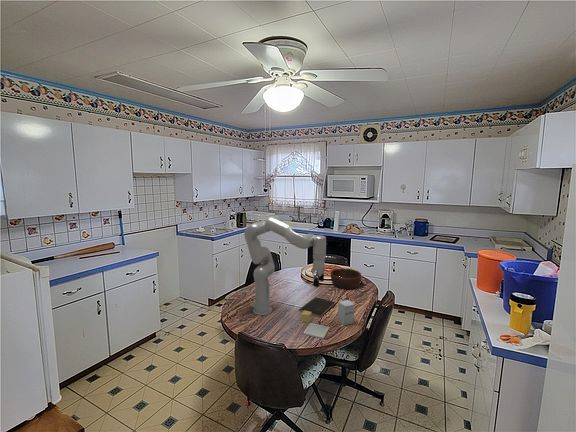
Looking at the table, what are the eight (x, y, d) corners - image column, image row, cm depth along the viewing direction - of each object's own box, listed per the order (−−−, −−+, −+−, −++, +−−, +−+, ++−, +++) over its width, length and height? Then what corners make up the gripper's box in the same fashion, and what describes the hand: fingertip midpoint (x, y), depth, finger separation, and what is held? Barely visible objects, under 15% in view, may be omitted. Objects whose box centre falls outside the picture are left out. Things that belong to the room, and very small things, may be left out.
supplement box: (344, 325, 174) (344, 306, 172) (337, 320, 180) (337, 301, 179) (354, 323, 177) (354, 304, 175) (347, 318, 183) (347, 299, 182)
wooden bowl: (327, 280, 250) (327, 268, 248) (354, 279, 252) (355, 267, 251) (334, 291, 225) (335, 279, 223) (365, 290, 228) (366, 278, 226)
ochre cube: (301, 321, 179) (301, 313, 179) (304, 317, 184) (304, 310, 183) (308, 322, 177) (309, 315, 177) (311, 319, 182) (311, 311, 181)
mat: (303, 334, 164) (303, 332, 164) (310, 324, 175) (310, 322, 175) (323, 339, 160) (323, 337, 159) (329, 328, 170) (329, 327, 170)
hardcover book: (334, 305, 203) (335, 302, 202) (320, 318, 184) (320, 315, 183) (314, 299, 211) (314, 296, 211) (298, 312, 192) (298, 308, 192)
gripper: (317, 252, 180) (317, 278, 183) (308, 259, 164) (308, 287, 167) (329, 253, 177) (328, 279, 180) (321, 261, 161) (320, 289, 164)
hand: (318, 283), depth 173 cm, fingers open, 9 cm apart
